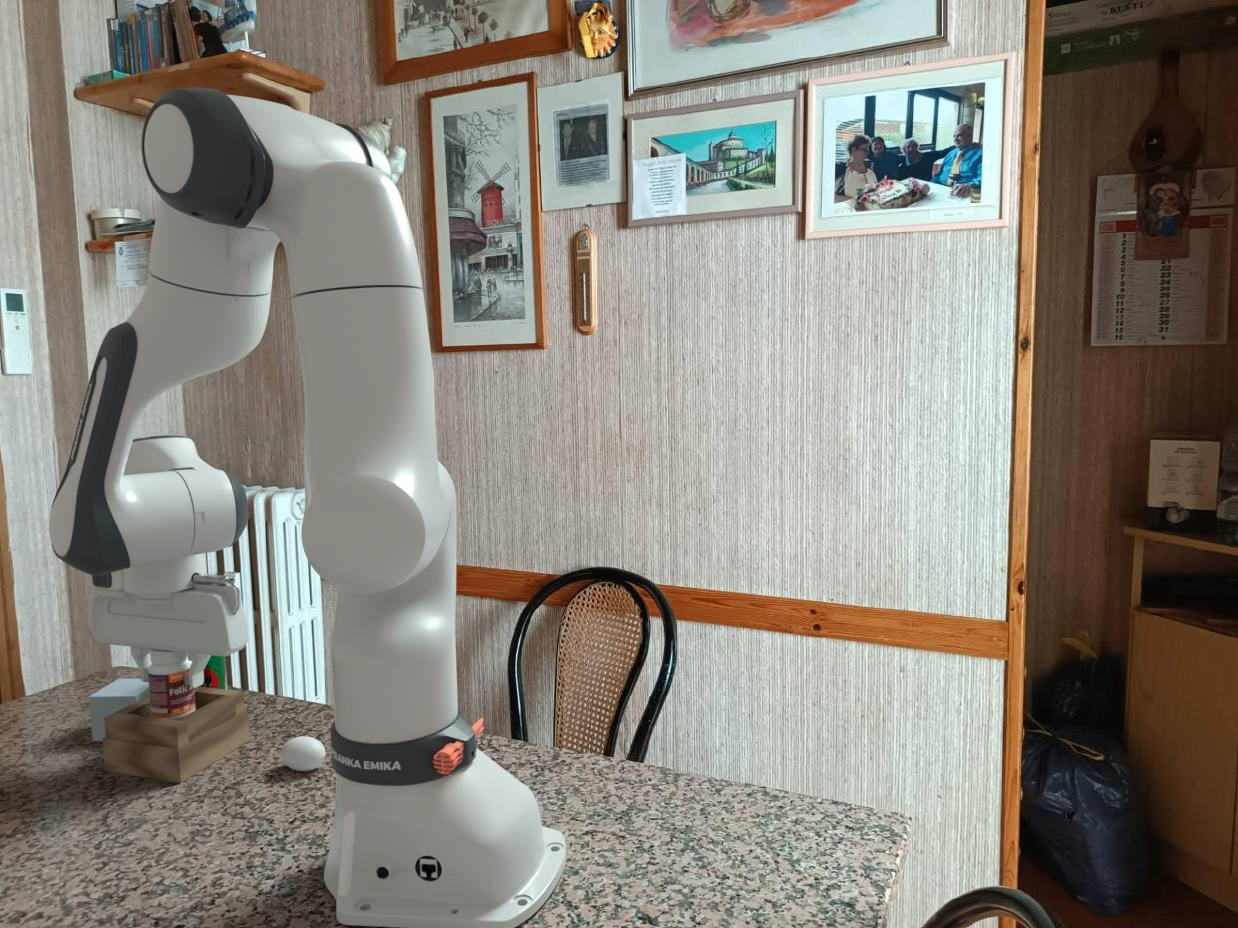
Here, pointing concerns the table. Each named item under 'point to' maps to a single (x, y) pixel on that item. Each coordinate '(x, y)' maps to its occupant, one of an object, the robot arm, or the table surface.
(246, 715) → the wooden open box
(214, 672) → the soda can
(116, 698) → the slate block
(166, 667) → the pill bottle
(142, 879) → the table surface
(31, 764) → the table surface
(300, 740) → the egg
